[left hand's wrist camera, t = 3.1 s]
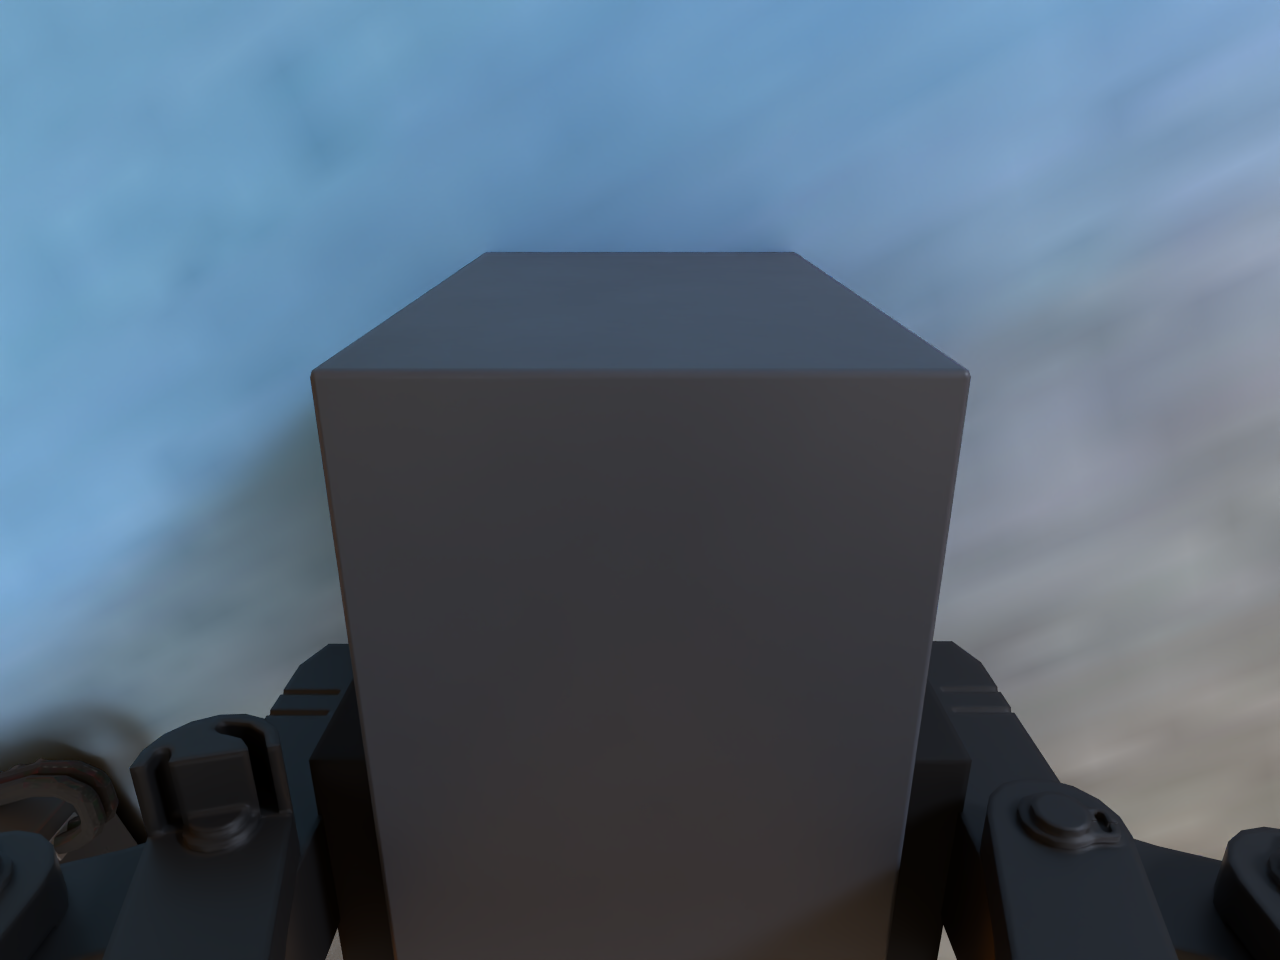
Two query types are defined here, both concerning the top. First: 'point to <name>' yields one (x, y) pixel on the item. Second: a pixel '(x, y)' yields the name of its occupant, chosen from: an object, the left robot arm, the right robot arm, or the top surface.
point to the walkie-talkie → (64, 807)
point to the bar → (640, 602)
